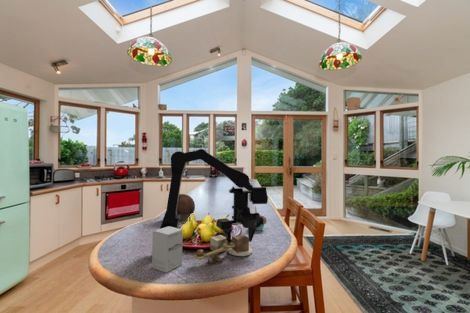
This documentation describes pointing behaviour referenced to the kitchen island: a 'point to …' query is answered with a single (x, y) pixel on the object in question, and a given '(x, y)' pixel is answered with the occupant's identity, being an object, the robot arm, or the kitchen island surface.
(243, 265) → the kitchen island surface
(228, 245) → the balance
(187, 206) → the wooden sphere
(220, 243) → the maple block
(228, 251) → the dish
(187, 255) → the kitchen island surface
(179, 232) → the supplement box
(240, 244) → the walnut block
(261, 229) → the cupcake
